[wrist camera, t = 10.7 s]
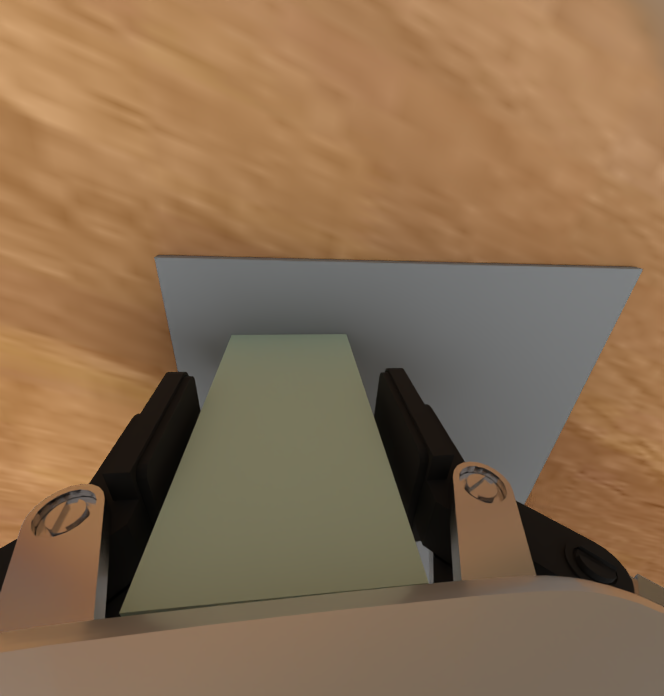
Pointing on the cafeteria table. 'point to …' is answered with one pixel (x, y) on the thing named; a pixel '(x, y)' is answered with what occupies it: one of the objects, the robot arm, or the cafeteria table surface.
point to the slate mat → (420, 336)
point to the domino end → (278, 487)
